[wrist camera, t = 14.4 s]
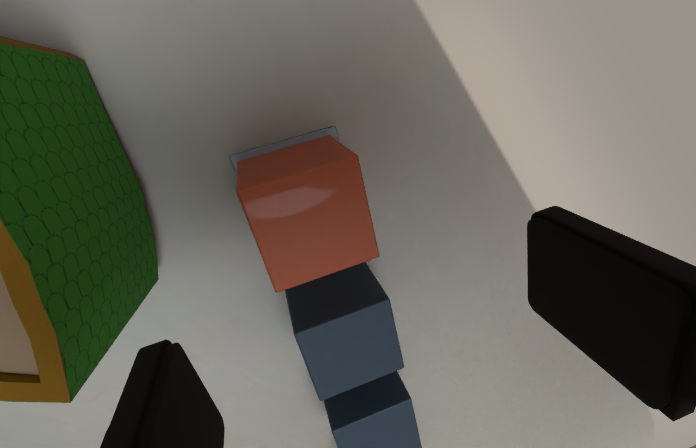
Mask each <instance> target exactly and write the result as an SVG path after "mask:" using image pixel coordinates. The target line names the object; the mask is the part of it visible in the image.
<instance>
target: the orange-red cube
mask: <svg viewBox="0 0 696 448" xmlns="http://www.w3.org/2000/svg"><path fill="white" fill-rule="evenodd" d="M237 194H238V197H239V200H240V202H241V205H242V207H243V210H244V212H245V215H246V218H247V220H248V223H249V225H250V228H251V230H252V233H253V235H254V238H255V241H256V243H257V246H258V248H259V251H260V253H261V256H262V258H263V261H264V264H265V266H266V269H267V271H268V274H269V276H270V279H271V282H272V284H273V287H274V289H275V292H276V293H277V292H280V291H283V290H286V289H289V288H292V287H295V286H298V285H300V284H303V283H306V282H309V281H312V280H315V279H318V278H320V277H323V276H326V275H329V274H332V273H335V272H337V271H340V270H343V269H346V268H349V267H352V266H355V265H357V264H360V263H363V262H366V261H369V260H372V259H375V258H377V257H379V252H378V247H377V242H376V238H375V233H374V229H373V224H372V219H371V215H370V210H369V205H368V201H367V196H366V192H365V187H364V182H363V178H362V173H361V169H360V164H359V159H358V156H357V155H356V154H355V153H354V152H352V151H351V150H350V149H348V148H347V147H346V146H344V145H343V144H342V143H340V142H339V141H338V140H336V139H335V138H334V137H332V136H331V135H327V136H324V137H321V138H317V139H314V140H310V141H307V142H303V143H300V144H296V145H293V146H290V147H286V148H283V149H279V150H276V151H272V152H269V153H265V154H262V155H259V156H255V157H252V158H248V159H245V160H241V161H238V162H237Z"/></svg>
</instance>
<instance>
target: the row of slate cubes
mask: <svg viewBox="0 0 696 448" xmlns="http://www.w3.org/2000/svg"><path fill="white" fill-rule="evenodd" d="M327 135H331V136H332V137H334V138H335V139H336V140H338V141H339V138H338V133H337V129H336V126H332V127H329V128H325V129H322V130H318V131H315V132H311V133H308V134H304V135H301V136H298V137H294V138H291V139H287V140H284V141H280V142H277V143H273V144H270V145H266V146H263V147H259V148H256V149H252V150H249V151H245V152H242V153H239V154H235V155H232V156H229V157H230V160H231V163H232V165H233V168H234V170H235V173H236V176H237V162H238V161H241V160H245V159H248V158H252V157H255V156H259V155H262V154H265V153H269V152H272V151H276V150H279V149H283V148H286V147H290V146H293V145H296V144H300V143H303V142H307V141H310V140H314V139H317V138H321V137H324V136H327ZM285 293H286V298H287V302H288V307H289V312H290V317H291V322H292V327H293V331H294V336H295V338H296V341H297V343H298V346H299V348H300V351H301V354H302V356H303V359H304V361H305V364H306V366H307V369H308V372H309V374H310V377H311V379H312V382H313V384H314V387H315V390H316V392H317V395H318V397H319V400H320V401H323V400H324V403H325V407H326V411H327V415H328V419H329V423H330V426H331V430H332V433H333V436H334V439H335V441H336V444H337V446H338V448H422V446H421V442H420V437H419V433H418V428H417V423H416V419H415V414H414V409H413V405H412V400H411V397H410V395H409V393H408V391H407V390H406V388H405V386H404V384H403V382H402V380H401V378H400V376H399V374H398V372H397V370H399V369H402V368H404V364H403V359H402V354H401V350H400V345H399V341H398V336H397V331H396V327H395V322H394V317H393V313H392V308H391V304H390V299H389V298H388V296H387V295H386V293H385V291H384V290H383V288H382V287H381V285H380V284H379V282H378V281H377V279H376V278H375V276H374V275H373V273H372V271H371V270H370V268H369V267H368V265H367V264H366V262H363V263H360V264H357V265H355V266H352V267H349V268H346V269H343V270H340V271H337V272H335V273H332V274H329V275H326V276H323V277H320V278H318V279H315V280H312V281H309V282H306V283H303V284H300V285H298V286H295V287H292V288H289V289H286V290H285Z"/></svg>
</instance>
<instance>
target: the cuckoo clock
mask: <svg viewBox="0 0 696 448" xmlns="http://www.w3.org/2000/svg"><path fill="white" fill-rule="evenodd" d="M157 280H158V267H157V256H156V248H155V240H154V235H153V231H152V228H151V225H150V221H149V218H148V215H147V211H146V206H145V202H144V198H143V193H142V190H141V188H140V186H139V184H138V182H137V180H136V177H135V175H134V173H133V171H132V169H131V166H130V164H129V162H128V160H127V158H126V156H125V153H124V151H123V149H122V147H121V145H120V142H119V140H118V138H117V136H116V134H115V132H114V129H113V127H112V125H111V123H110V121H109V118H108V116H107V114H106V112H105V110H104V108H103V105H102V103H101V101H100V98H99V96H98V93H97V91H96V89H95V86H94V84H93V81H92V79H91V76H90V74H89V72H88V69H87V67H86V64H85V62H84V60H82V59H80V58H78V57H76V56H74V55H72V54H70V53H67V52H62V51H58V50H54V49H50V48H45V47H41V46H37V45H33V44H29V43H24V42H20V41H16V40H12V39H7V38H3V37H0V401H10V402H63V403H71V401H72V400H73V399H74V397H75V396H76V394H77V393H78V392H79V390H80V389H81V387H82V386H83V385H84V383H85V382H86V380H87V379H88V377H89V376H90V375H91V373H92V372H93V370H94V369H95V368H96V366H97V365H98V363H99V362H100V361H101V359H102V358H103V356H104V355H105V354H106V352H107V351H108V349H109V348H110V347H111V345H112V344H113V342H114V341H115V339H116V338H117V337H118V335H119V334H120V332H121V331H122V330H123V328H124V327H125V325H126V324H127V323H128V321H129V320H130V318H131V317H132V316H133V314H134V313H135V311H136V310H137V309H138V307H139V306H140V304H141V303H142V302H143V300H144V299H145V297H146V296H147V294H148V293H149V292H150V290H151V289H152V287H153V286H154V285H155V283H156V282H157Z"/></svg>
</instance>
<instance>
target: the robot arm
mask: <svg viewBox="0 0 696 448" xmlns="http://www.w3.org/2000/svg"><path fill="white" fill-rule="evenodd" d="M527 250H528V301H529V304H530V306H531V307H532V309H533V310H534V311H535V312H536V313H537V314H538V315H540V316H541V317H542V318H543V319H544V320H546V321H547V322H548V323H549V324H550V325H552V326H553V327H554V328H555V329H556V330H557V331H559V332H560V333H561V334H562V335H563V336H565V337H566V338H567V339H568V340H569V341H571V342H572V343H573V344H574V345H575V346H577V347H578V348H579V349H580V350H581V351H583V352H584V353H585V354H586V355H587V356H589V357H590V358H591V359H592V360H593V361H594V362H596V363H597V364H598V365H599V366H600V367H602V368H603V369H604V370H605V371H606V372H608V373H609V374H610V375H611V376H612V377H614V378H615V379H616V380H617V381H618V382H620V383H621V384H622V385H623V386H624V387H626V388H627V389H628V390H629V391H630V392H631V393H633V394H634V395H635V396H636V397H637V398H639V399H640V400H641V401H642V402H643V403H645V404H646V405H647V406H649V407H651V408H653V409H659V410H660V411H661V412H662V413H664V414H665V415H666V416H667V417H668V418H670V419H671V420H672V421H675V420H677V419H680V418H682V417H684V416H686V415H688V414H690V413H693V412H694V410H695V406H696V266H693V265H691V264H689V263H686V262H684V261H682V260H679V259H677V258H675V257H673V256H670V255H668V254H666V253H664V252H661V251H659V250H657V249H655V248H652V247H650V246H647V245H645V244H643V243H641V242H638V241H636V240H634V239H631V238H629V237H627V236H625V235H622V234H620V233H618V232H616V231H613V230H611V229H609V228H606V227H604V226H602V225H599V224H597V223H595V222H593V221H590V220H588V219H586V218H583V217H581V216H579V215H577V214H574V213H572V212H570V211H568V210H565V209H563V208H560V207H558V206H553V207H549V208H546V209H544V210H541V211H538V212H535V213H534V214H533V215H532V217H531V220H529V222H528V224H527ZM223 445H224V423H223V419H222V416H221V414H220V412H219V411H218V409H217V407H216V405H215V404H214V402H213V400H212V398H211V397H210V395H209V393H208V392H207V390H206V388H205V386H204V385H203V383H202V381H201V379H200V378H199V376H198V374H197V373H196V371H195V369H194V367H193V366H192V364H191V362H190V360H189V359H188V357H187V355H186V354H185V352H184V350H183V348H182V347H181V345H180V344H179V343H174V344H172V343H171V342H170V341H169V340H163V341H161V342H158V343H155V344H152V345H149V346H146V347H143V348H141V349H140V350H139V352H138V353H137V356H136V359H135V361H134V364H133V366H132V369H131V372H130V374H129V377H128V379H127V382H126V385H125V387H124V390H123V392H122V395H121V397H120V400H119V403H118V405H117V408H116V410H115V413H114V416H113V418H112V421H111V423H110V426H109V428H108V429H107V431H106V434H105V436H104V439H103V442H102V444H101V447H100V448H223ZM690 448H696V445H695V446H693V447H690Z"/></svg>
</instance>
